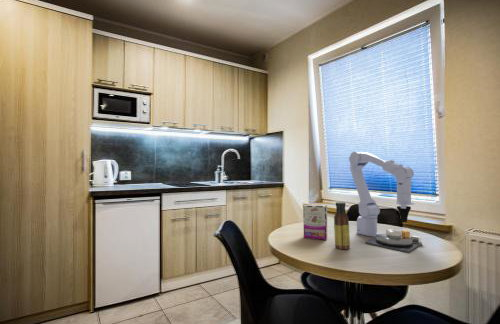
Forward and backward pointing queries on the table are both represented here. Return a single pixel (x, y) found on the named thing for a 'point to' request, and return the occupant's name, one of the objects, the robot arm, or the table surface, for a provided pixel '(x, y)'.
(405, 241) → the turntable
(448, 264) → the table surface
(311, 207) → the candy bar box
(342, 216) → the sauce bottle
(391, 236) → the cover
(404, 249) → the base plate
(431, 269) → the table surface
